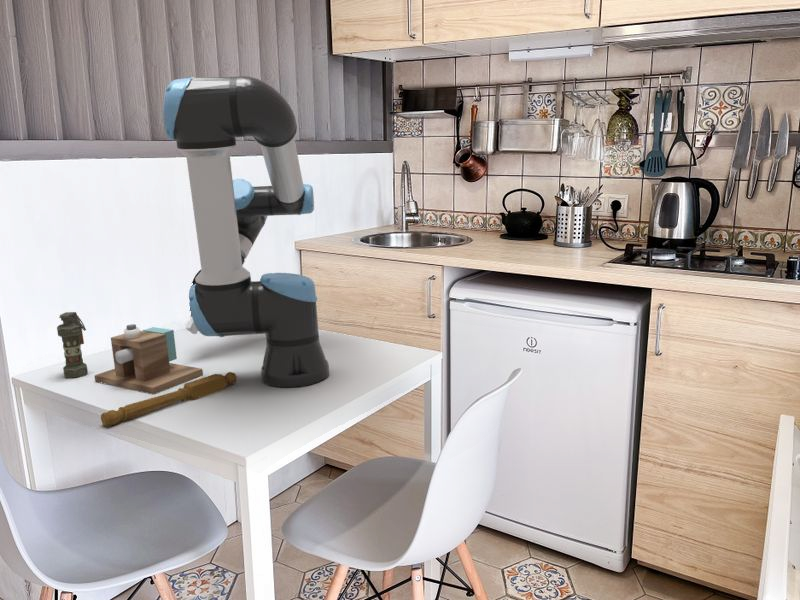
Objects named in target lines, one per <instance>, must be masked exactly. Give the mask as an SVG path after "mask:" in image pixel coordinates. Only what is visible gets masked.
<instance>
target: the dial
mask: <svg viewBox="0 0 800 600" xmlns="http://www.w3.org/2000/svg"><path fill="white" fill-rule="evenodd" d="M140 331H141V330H140V327H138V326H137V324H133V323H132V324H128V325H126V328H124V329H123V334H124V335H125V339H127V340H131V339H137V338H140Z"/></svg>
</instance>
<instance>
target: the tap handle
mask: <svg viewBox="0 0 800 600" xmlns="http://www.w3.org/2000/svg"><path fill="white" fill-rule="evenodd" d="M237 379H238V377H237V375H236V373H235V372H233V371H228V372H226V373H225V375H224V374H221V373H214V374H211V375H208V376H205V377H201V378H198V379H195V380H192V381H187V383H186V382H184V383H183V384H184V385H183V387H180V388H178V389H177V390H175V391H172V392H168V393H164V394H161V395H158V396H154V397H150V398H147V399H143V400H140V401H136V402H133V403H132V402H131V403H130V404H126V405H125V406H120V407H118V410H114V409H112V410H108V411H107V412H102V413H101V415H100V420H101V423H102V425H103V426H104V427H105V428H110V426H115V425H117V424H119V422H120V421H122V422H126V421H127V420H128V421H129V420H133V419H135V418H138V417H141V416H144V415H145V414H149V413H152V412H154V411H156V410H159V409H162V408H165V407H167V406H169V405H172V404H175V403H177V402H179V401H181V402H185V401H186V400H191V401H192V400H194V401H195V400H197V399H201V398H204V397H207V396H209V395H212V394H214V393H218V392H221V391H223V390H226V388H227V387H226V386H227V385H229V386H232V385H234V384H235V383H236V382H237Z"/></svg>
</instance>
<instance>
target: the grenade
mask: <svg viewBox="0 0 800 600" xmlns="http://www.w3.org/2000/svg"><path fill="white" fill-rule="evenodd" d="M58 318H59V319H60V321H62V324H59V325H57V327H56V330H57V336H58V337H61V340H62V349H63V351H64V352H63V355H64V358H65V365H64V366H63V368H62V370H63V371H62V372H63V376H64V378H67V377H68V379H73V378H72V377H76V378H79V376H81V377H83V375H84V376H86V375H87V374H88V365H87V363H85V362H84V360H83V354H82V353H83V352H82V349H81V348H82V347H81V346H82V345H83V344H85V341H84V335H83V331H85V332H86V331H87V328H86V325H85V324H84V323H83V321H82V319H81V318H80V317H79V315H78V313H77V312H76V311H70V312H69V311H68V312H67V311H66V312H63V313H61V314H60V315H59V317H58ZM85 374H86V375H85Z"/></svg>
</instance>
